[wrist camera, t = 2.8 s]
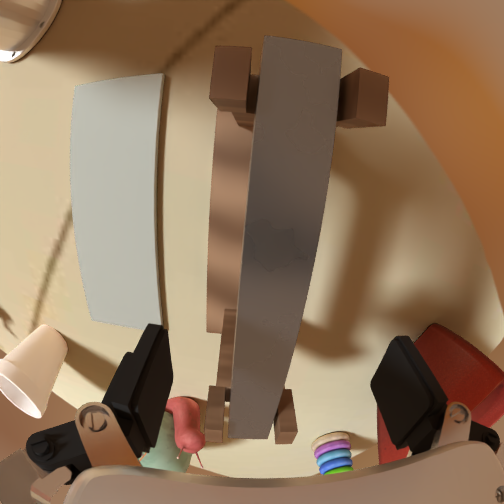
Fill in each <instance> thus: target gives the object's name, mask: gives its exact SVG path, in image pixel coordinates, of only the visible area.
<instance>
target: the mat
mask: <svg viewBox="0 0 504 504" xmlns="http://www.w3.org/2000/svg"><path fill="white" fill-rule="evenodd" d="M164 79H165V75H164V74H163V73H160V74H148V75H138V76H129V77H122V78H115V79H108V80H102V81H97V82H92V83H87V84H82V85H77V86H75V90H74V98H73V108H72V120H71V137H70V184H71V202H72V214H73V224H74V233H75V241H76V248H77V254H78V261H79V266H80V272H81V277H82V282H83V287H84V291H85V296H86V300H87V304H88V308H89V312H90V316H91V320H92V321H97V322H102V323H107V324H112V325H117V326H123V327H129V328H134V329H141V330H145V328H146V326H147V325H148V324H149V323H151V324H158V325H163V317H162V307H161V296H160V284H159V268H158V248H157V162H158V142H159V128H160V115H161V105H162V95H163V87H164ZM163 328H164V326H163Z"/></svg>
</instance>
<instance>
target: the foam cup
mask: <svg viewBox="0 0 504 504" xmlns="http://www.w3.org/2000/svg"><path fill="white" fill-rule="evenodd" d="M67 351H68V347H67V344H66V341H65V340H64V339H63V337H62V336H61V334H59V333H58V332H57V331H56V330H55V329H54V328H52V327H50V326H49V325H44V324H42V325H41V326H39V327H38V328H37V329H36V330H35V331H33V332H32V333H31V334H30V335H29V336H28V337H26V338H25V339H24V340H23V341H22V342H21V343H20V344H19V345H17V346H16V347H15V348H14V349H13V350H12V351H11V352H10V353H9V354H7V355H6V356H5V357H4V358H3V359H0V390H1V391H2V393H3V394H4V395H5V396H6V397H7V398H8V399H9V400H10V401H11V402H12V403H13V404H14V405H15V406H16V407H18V408H19V409H21V410H22V411H23V412H25V413H27V414H28V415H30V416H33V417H35V418H41V417H42V415H43V414H44V412H45V410H46V408H47V402H48V399H49V396H50V393H51V391H52V388H53V386H54V383H55V381H56V378H57V376H58V373H59V371H60V369H61V366H62V364H63V362H64V359H65V357H66V354H67Z"/></svg>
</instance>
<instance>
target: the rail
mask: <svg viewBox="0 0 504 504" xmlns="http://www.w3.org/2000/svg"><path fill="white" fill-rule="evenodd" d="M341 57H342V49H338V48H334V47H330V46H326V45H321V44H316V43H311V42H306V41H301V40H295V39H289V38H282V37H274V36H264V42H263V47H262V53H261V60H260V69H259V78H258V88H257V97H256V107H255V117H254V126H253V136H252V146H251V157H250V167H249V177H248V188H247V198H246V209H245V220H244V231H243V242H242V254H241V265H240V277H239V289H238V301H237V313H236V326H235V338H234V351H233V364H232V378H231V391H230V405H229V425H228V438H241V439H268V436H269V433H270V430H271V427H272V424H273V420H274V417H275V414H276V411H277V408H278V404H279V401H280V398H281V395H282V391H283V388H284V384H285V381H286V377H287V374H288V370H289V367H290V363H291V359H292V356H293V352H294V348H295V344H296V340H297V336H298V332H299V328H300V324H301V320H302V316H303V312H304V308H305V303H306V299H307V295H308V290H309V286H310V281H311V276H312V271H313V267H314V262H315V257H316V252H317V247H318V241H319V236H320V231H321V225H322V219H323V213H324V208H325V201H326V195H327V189H328V182H329V175H330V168H331V161H332V154H333V146H334V137H335V129H336V120H337V110H338V99H339V87H340V73H341Z"/></svg>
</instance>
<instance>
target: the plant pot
mask: <svg viewBox="0 0 504 504" xmlns="http://www.w3.org/2000/svg"><path fill="white" fill-rule="evenodd" d="M414 345H415V346H416V348H417V349H418V351H419V352H420V354H421V355H422V357H423V358H424V360H425V362H426V363H427V365H428V366H429V368H430V369H431V371H432V373H433V374H434V376H435V377H436V379H437V381H438V382H439V384H440V386H441V387H442V389H443V391H444V392H445V394H446V396H447V397H448V399H449V400H448V401H447V403H446V404H447V405H449V404H450V403H452V402H461V403H463V404H465V405H466V406H467V407H468V409H469V410H470V412H471V420H472V421H474V422H477V423H479V424H481V425H484V426H486V427H489V428H490V427H491V426H492V425H493V424H494V423H496V422H497V421H498V420H499V419H500V418H501V417H502V416H503V415H504V372H503V371H502V370H501V369H500V368H499V367H498V366H497V365H496V364H495V363H494V362H493V361H491V360H490V359H489V358H488V357H487V356H486V355H484V354H483V353H482V352H481V351H480V350H478V349H477V348H476V347H474V346H473V345H472V344H470V343H469V342H468V341H466V340H465V339H463V338H462V337H460V336H459V335H457V334H456V333H454V332H452V331H451V330H449V329H447V328H445V327H443V326H441V325H439V324H436V323H435V324H432V325H431V326H430V327H429V328H428V329H427V330H426V331H425V332H424V333H423V334H422V335H421V336H420V337H419V338H418V339H417V340H416V342H415V343H414ZM377 435H378V454H379V465H381V464H385V463H389V462H393V461H396V460H400V459H403V458H406V457H407V455H408V452H409V450H410V449H409V446H407V447H406V448H403V449H399V450H397V449H396V446H395V445H394V444H392V442H391V439H390V436H389V434H388V431H387V428H386V426H385V423H384V420H383V418H382V415H381V412H380V410H379V407H378V405H377Z"/></svg>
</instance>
